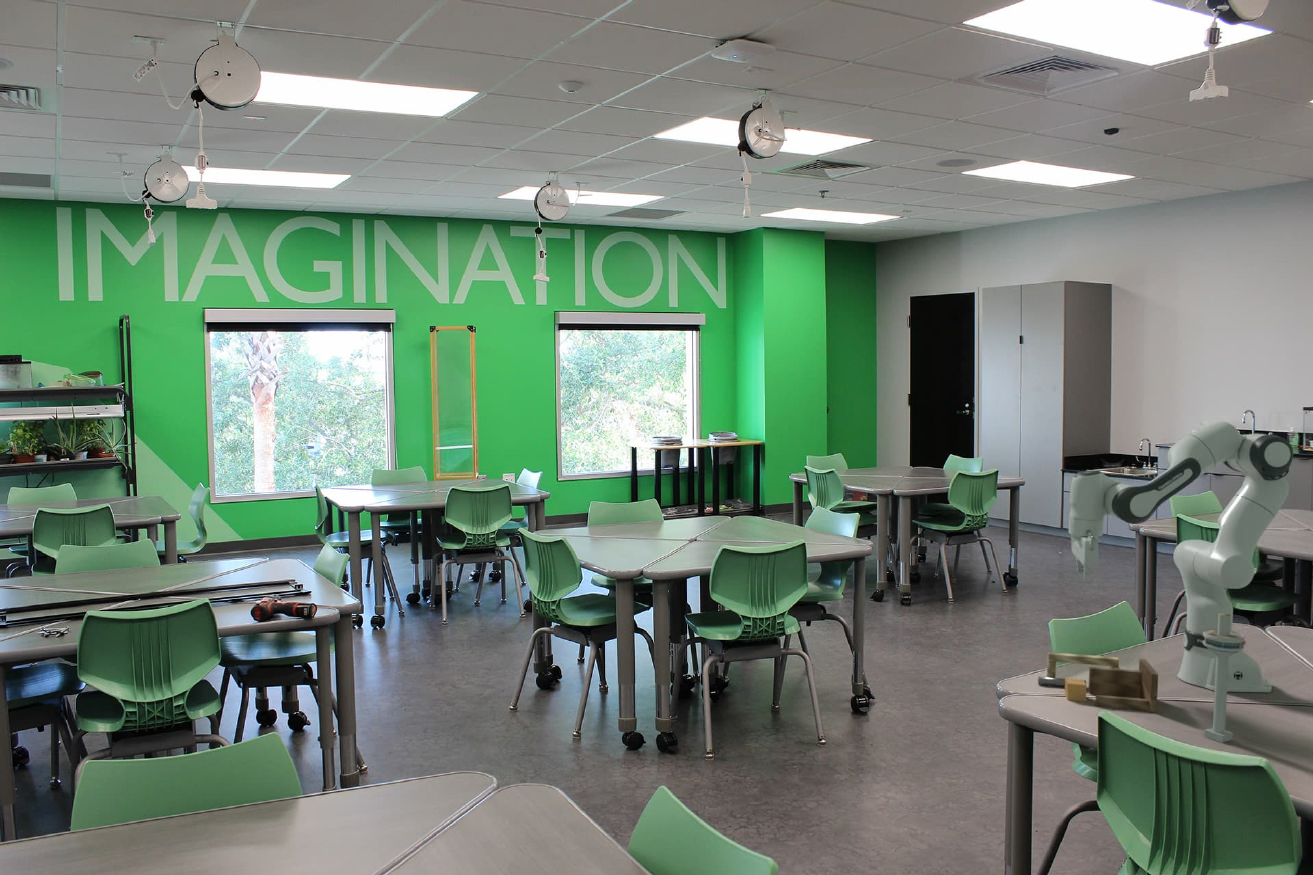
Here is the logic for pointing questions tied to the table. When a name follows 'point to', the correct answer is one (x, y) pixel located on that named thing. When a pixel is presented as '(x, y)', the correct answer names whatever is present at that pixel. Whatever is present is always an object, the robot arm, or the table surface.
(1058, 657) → the beech crook
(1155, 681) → the walnut cubby
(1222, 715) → the model tower
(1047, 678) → the dark metal rod
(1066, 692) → the orange cube
